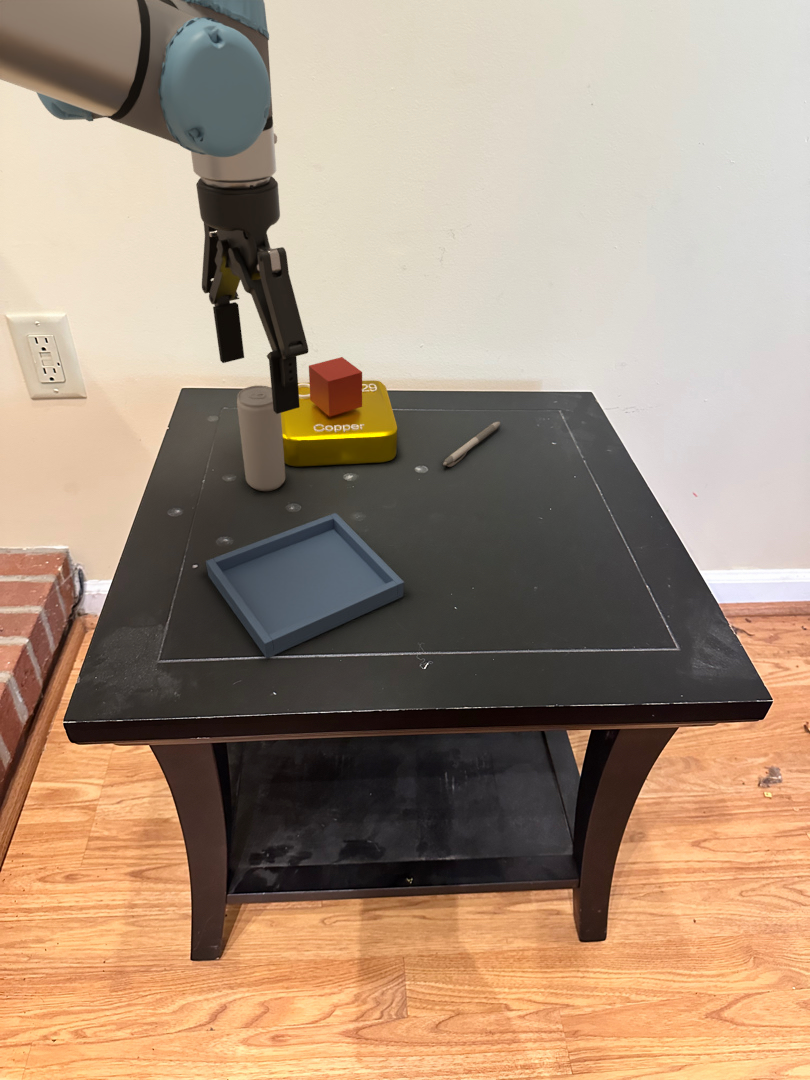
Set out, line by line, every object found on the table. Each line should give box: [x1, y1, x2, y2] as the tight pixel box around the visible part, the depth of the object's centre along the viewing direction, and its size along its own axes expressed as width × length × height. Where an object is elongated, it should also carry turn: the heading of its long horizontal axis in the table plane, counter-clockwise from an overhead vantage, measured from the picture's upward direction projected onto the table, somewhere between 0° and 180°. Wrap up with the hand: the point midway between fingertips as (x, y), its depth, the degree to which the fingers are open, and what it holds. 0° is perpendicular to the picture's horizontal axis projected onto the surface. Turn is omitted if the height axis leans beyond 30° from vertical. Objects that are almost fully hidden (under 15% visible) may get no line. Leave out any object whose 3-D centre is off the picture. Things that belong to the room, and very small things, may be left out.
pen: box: [442, 421, 501, 468], centre depth 98 cm, size 1×14×1 cm, turn 143°
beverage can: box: [236, 385, 286, 492], centre depth 86 cm, size 5×5×12 cm
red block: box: [308, 356, 363, 417], centre depth 94 cm, size 5×5×5 cm
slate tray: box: [205, 512, 405, 659], centre depth 75 cm, size 16×14×2 cm
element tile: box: [281, 380, 398, 468], centre depth 98 cm, size 15×15×5 cm
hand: (258, 383), depth 82 cm, fingers open, 13 cm apart
